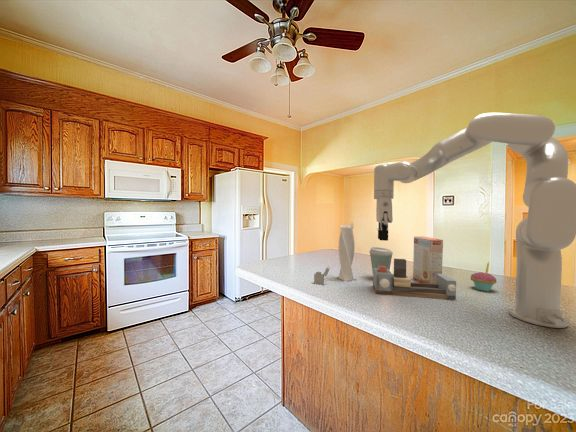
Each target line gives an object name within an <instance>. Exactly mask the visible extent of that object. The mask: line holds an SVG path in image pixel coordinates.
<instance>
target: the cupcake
mask: <svg viewBox="0 0 576 432" xmlns="http://www.w3.org/2000/svg"><path fill="white" fill-rule="evenodd" d="M489 267H490V261H488V262H487V263H486V268H485V272H484V271H483V272H481V271H480V272H475V273H472V274H471V275H470V280H471V281H472V282H473V284H474V287H475V289H476V290H479V291H482V292H490V291H491V290H492V288H493V286H494V284H497V278H496V277H495V276H494V275H492V274H490V273H488V272H489Z"/></svg>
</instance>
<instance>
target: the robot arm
mask: <svg viewBox="0 0 576 432" xmlns="http://www.w3.org/2000/svg"><path fill="white" fill-rule="evenodd" d="M555 131H556V126H555V123H554V121H553V120H552V119H550V118H549V117H547V116H545V115H541V114H540V115H539V114H530V113H529V114H527V113H512V112H511V113H510V112H484V113H480V114H478V115H476V116H475V117H473V118H472V119H471V120H470V121H469V123H468V124H467V127H464V128H462V129H461V130H459V131H457V132H455V133H453V134H451V135H449V136H447V137H446V138H444V139H442V140H439V141H438V142H437V143H435V144H434V145H433V146H432V147H431V148H430V150H429V151H427V153H425V154H424V155H422V156H421V157H419V158H418V159H416V160H414V161H412V162H409V161H399V162H398V161H397V162H395V163H391V164H390V163H389V164H387V163H386V164H378V165H376V166H375V167H374V169H373V172H374V173H373V199H374V200H376V204H375V205H376V209H375V212H376V222H377V223H378V230H377V239H378V240H379V241H389V224H391V223H392V222H393V199H394V196H395V195H394V189H395V188H394V186H395V183H394V182H400V183H402V184H409V183H410V184H411V183H413V182H416V181H417V180H419V179H421V178H424V177H426V176H428V175H430V174H431V173H433V172H435V171H437V170H439V169H441V168H443V167H445V166H447V165H448V164H450V163H452V162H454V161H456V160H458V159H460V158H462V157H464V156H466V155H468V154H471V153H473V152H475V151H477V150H479V149H482V148H483V147H485V146H487V145H489V144H492V142H494V143H503V144H507V147H508V148H509V149H510V151H511V152H514V153H517V154H518V155H520V156H521V157H522V158H523V159H524V160H525V163H526V174H525V175H526V176H525V182H524V189H523V194H522V200H523V203H524V205H525V206H526V207H527V208H528V212H527V217H526V218H524V219H522V220H521V221H520V222H519V223H518V225H517V226H516V229H515V246H516V270H515V305H514V306H511V307H509V308H508V314H510V316H512V317H514V318H516V319H517V320H521V321H522V322H526V323H529V324H532V325H537V326H542V327H546V328H552V329H553V328H554V329H563V328H564V329H565V328H567V327H568V326H569V323H570V320H569V319H567V318H565V317H563V313H564V312H563V310H561V306H562V305H561V304H562V303H561V302H562V301H561V299H562V297H561V296H562V291H561V290H562V270H563V261H562V260H563V257H562V250H563V249H566V248H568V247H569V246H570V245H571V244H572V243H573V242H574V241H575V239H576V182H575V181H573V180H572V179H569V178H568V176H569V175H568V174H569V154H568V151H567V148H565V146H564V145H563V144H562V143H561V142H560V141H559V140H557V139H556V138H555V137H553V135H554V134H555Z"/></svg>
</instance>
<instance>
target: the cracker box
mask: <svg viewBox="0 0 576 432" xmlns="http://www.w3.org/2000/svg"><path fill="white" fill-rule="evenodd" d="M443 248H444V240H443V239H439V238H434V237H428V236H413V262H412V263H413V266H412V268H413V269H412V279H414V280H416V281H417V282H418V283H429V284H436V274H443V253H444V252H443V251H444V249H443Z"/></svg>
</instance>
